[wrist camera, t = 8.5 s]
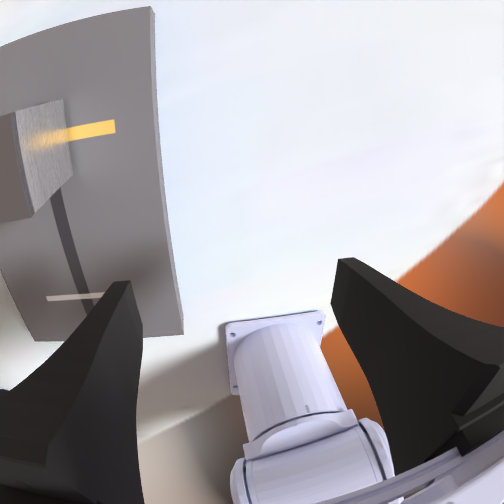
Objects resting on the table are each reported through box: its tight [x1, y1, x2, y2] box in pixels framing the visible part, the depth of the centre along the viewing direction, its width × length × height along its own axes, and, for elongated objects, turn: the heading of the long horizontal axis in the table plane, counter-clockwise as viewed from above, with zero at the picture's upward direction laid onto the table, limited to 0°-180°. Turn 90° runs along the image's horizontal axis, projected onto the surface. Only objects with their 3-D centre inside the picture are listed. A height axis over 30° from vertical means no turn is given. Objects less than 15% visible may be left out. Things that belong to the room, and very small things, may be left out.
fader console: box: [0, 6, 184, 341], centre depth 16 cm, size 20×12×2 cm, turn 0°
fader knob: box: [0, 99, 73, 223], centre depth 11 cm, size 4×3×5 cm
